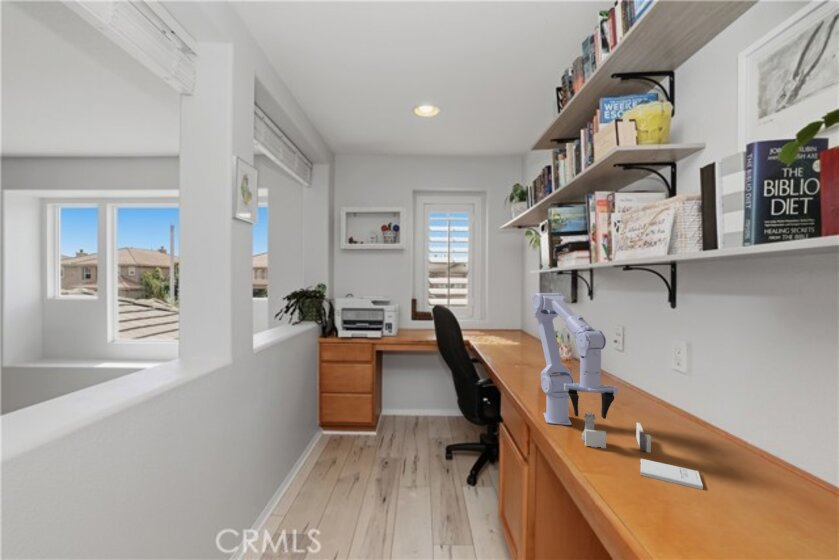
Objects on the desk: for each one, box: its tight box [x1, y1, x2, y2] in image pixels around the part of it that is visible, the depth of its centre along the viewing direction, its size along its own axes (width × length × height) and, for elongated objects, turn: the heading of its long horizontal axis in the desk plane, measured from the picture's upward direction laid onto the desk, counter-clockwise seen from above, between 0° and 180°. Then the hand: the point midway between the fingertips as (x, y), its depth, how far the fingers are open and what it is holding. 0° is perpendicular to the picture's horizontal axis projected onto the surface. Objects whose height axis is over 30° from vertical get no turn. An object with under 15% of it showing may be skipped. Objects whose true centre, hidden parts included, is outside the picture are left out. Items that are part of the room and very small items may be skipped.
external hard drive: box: [640, 458, 704, 491], centre depth 94 cm, size 2×8×12 cm
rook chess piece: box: [581, 412, 597, 442], centre depth 114 cm, size 4×4×8 cm
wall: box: [584, 428, 652, 454], centre depth 109 cm, size 1×17×4 cm, turn 78°
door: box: [635, 422, 646, 452], centre depth 111 cm, size 1×10×5 cm, turn 156°
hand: (589, 416), depth 114 cm, fingers open, 7 cm apart
